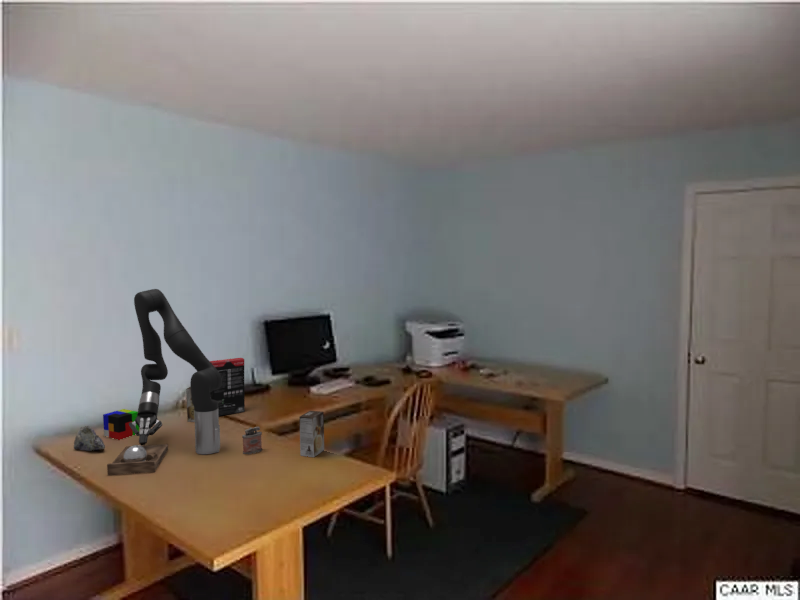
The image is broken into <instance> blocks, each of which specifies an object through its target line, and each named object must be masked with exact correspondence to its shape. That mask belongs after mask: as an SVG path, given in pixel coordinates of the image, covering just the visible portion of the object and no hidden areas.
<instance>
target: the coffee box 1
mask: <svg viewBox="0 0 800 600" xmlns="http://www.w3.org/2000/svg"><path fill="white" fill-rule="evenodd" d="M185 394H186V414H187V417H186V418H187V422H188V423H195V418H194V405H193V403H192V397H191V386H188V387H187V388H185Z"/></svg>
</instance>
